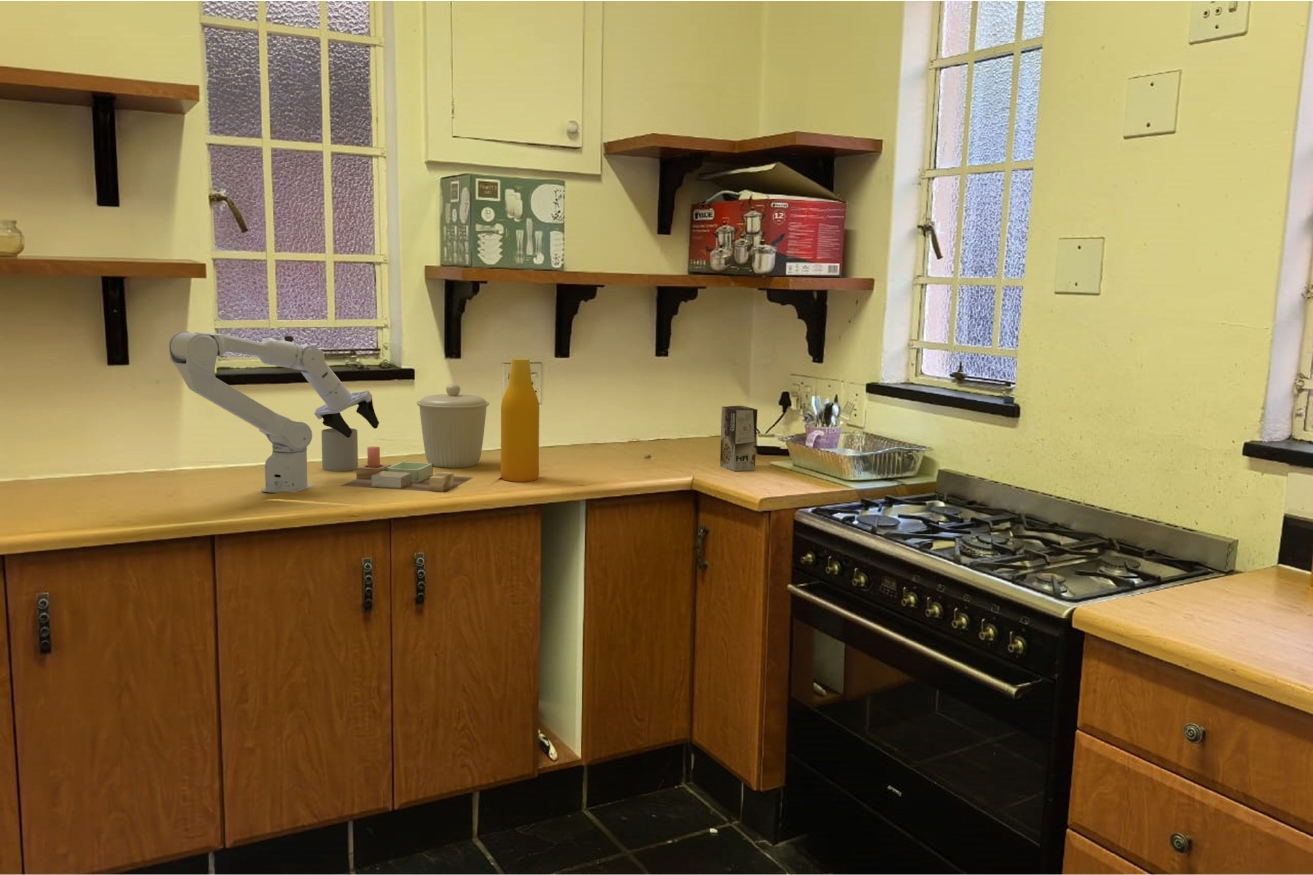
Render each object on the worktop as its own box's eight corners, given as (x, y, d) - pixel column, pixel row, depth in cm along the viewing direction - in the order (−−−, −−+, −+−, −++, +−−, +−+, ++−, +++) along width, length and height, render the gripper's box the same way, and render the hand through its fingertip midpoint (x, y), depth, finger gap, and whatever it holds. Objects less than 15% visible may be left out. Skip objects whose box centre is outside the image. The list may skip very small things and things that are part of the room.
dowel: (376, 478, 246) (376, 448, 245) (365, 477, 246) (365, 448, 245) (382, 475, 249) (381, 446, 248) (370, 475, 249) (370, 446, 248)
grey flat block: (400, 488, 235) (400, 477, 235) (371, 486, 236) (371, 475, 236) (411, 483, 241) (411, 472, 240) (382, 481, 242) (382, 471, 242)
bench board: (445, 494, 232) (445, 478, 232) (338, 488, 236) (338, 472, 236) (473, 479, 250) (473, 465, 249) (373, 473, 254) (372, 459, 253)
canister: (450, 457, 279) (450, 379, 276) (503, 465, 270) (503, 384, 267) (402, 466, 264) (401, 384, 261) (456, 475, 255) (456, 389, 252)
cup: (363, 468, 261) (362, 428, 260) (350, 474, 253) (349, 433, 252) (330, 466, 262) (329, 427, 260) (316, 472, 254) (315, 432, 252)
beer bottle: (535, 482, 248) (536, 361, 244) (496, 481, 249) (497, 359, 244) (541, 475, 257) (542, 358, 253) (504, 474, 258) (505, 357, 253)
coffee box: (756, 470, 272) (758, 409, 270) (733, 471, 270) (736, 409, 267) (740, 464, 281) (742, 405, 278) (718, 465, 278) (721, 405, 276)
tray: (418, 482, 242) (418, 470, 242) (385, 480, 243) (385, 468, 243) (432, 475, 251) (432, 463, 250) (401, 473, 252) (401, 461, 252)
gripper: (360, 367, 239) (393, 410, 247) (308, 386, 243) (342, 428, 251) (352, 386, 234) (386, 429, 242) (299, 405, 238) (334, 447, 246)
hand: (363, 430), depth 246 cm, fingers open, 7 cm apart
